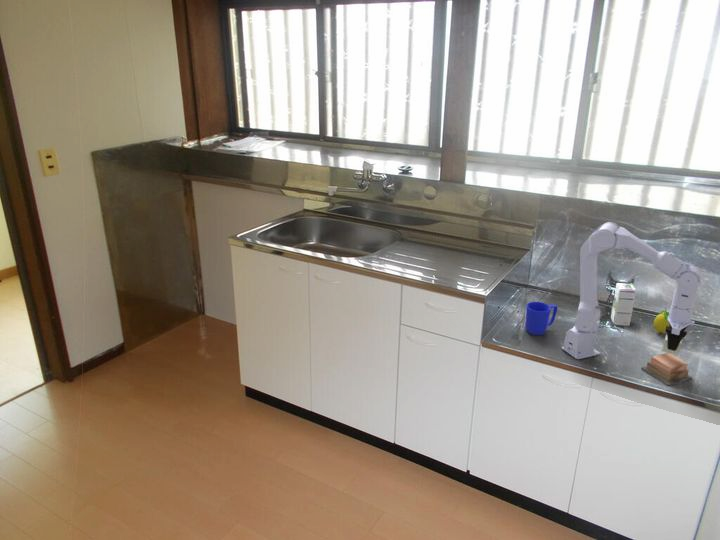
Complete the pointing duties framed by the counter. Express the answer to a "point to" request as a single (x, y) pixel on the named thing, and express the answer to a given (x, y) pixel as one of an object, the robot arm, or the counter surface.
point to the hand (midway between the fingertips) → (672, 346)
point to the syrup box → (623, 304)
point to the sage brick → (665, 349)
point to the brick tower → (667, 369)
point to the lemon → (661, 321)
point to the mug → (538, 317)
